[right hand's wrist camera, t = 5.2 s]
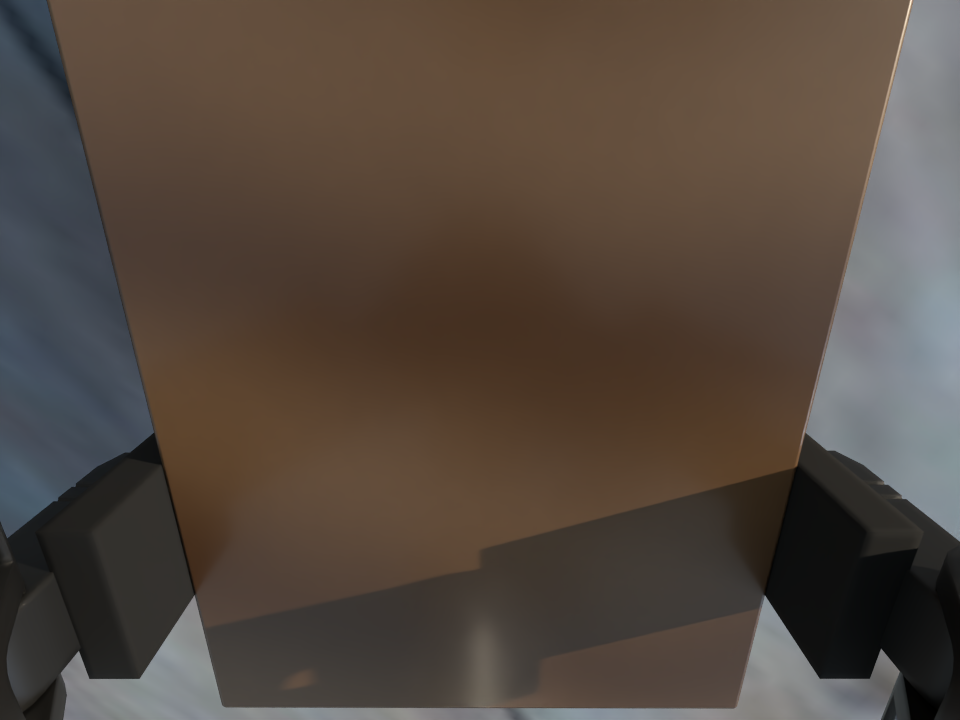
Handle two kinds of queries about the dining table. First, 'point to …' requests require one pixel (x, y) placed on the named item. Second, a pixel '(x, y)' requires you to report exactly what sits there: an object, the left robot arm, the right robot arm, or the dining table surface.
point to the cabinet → (479, 323)
